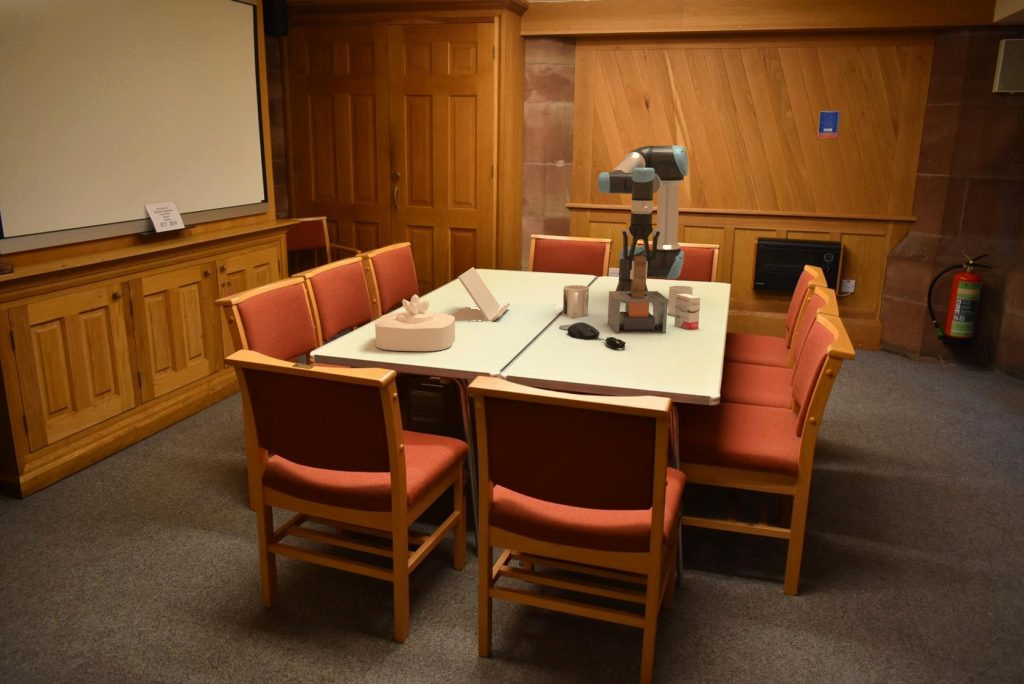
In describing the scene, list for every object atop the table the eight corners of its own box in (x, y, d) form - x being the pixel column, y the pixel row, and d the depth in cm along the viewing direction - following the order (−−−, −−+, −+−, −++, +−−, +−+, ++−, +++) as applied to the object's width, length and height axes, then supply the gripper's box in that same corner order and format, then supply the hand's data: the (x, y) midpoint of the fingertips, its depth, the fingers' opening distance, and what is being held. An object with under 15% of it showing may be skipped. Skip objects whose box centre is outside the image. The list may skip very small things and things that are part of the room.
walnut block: (630, 297, 281) (632, 256, 278) (641, 297, 281) (643, 256, 278) (633, 299, 277) (635, 257, 274) (644, 299, 277) (646, 257, 274)
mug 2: (688, 318, 300) (690, 290, 297) (665, 316, 303) (667, 288, 301) (694, 313, 310) (696, 285, 308) (672, 311, 314) (674, 283, 311)
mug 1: (594, 315, 304) (595, 287, 301) (575, 319, 296) (576, 290, 293) (573, 311, 311) (574, 284, 308) (554, 315, 302) (554, 287, 300)
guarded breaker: (607, 323, 289) (609, 291, 286) (655, 323, 290) (657, 291, 287) (615, 333, 274) (616, 299, 271) (665, 333, 275) (667, 299, 272)
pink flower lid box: (448, 351, 247) (447, 302, 243) (370, 350, 248) (368, 300, 244) (458, 334, 271) (457, 288, 267) (387, 332, 272) (385, 287, 268)
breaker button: (625, 314, 284) (625, 297, 283) (644, 314, 284) (644, 297, 283) (628, 317, 277) (629, 301, 276) (648, 317, 278) (649, 301, 276)
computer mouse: (578, 332, 277) (578, 319, 275) (633, 347, 255) (634, 333, 254) (560, 334, 272) (561, 321, 271) (615, 351, 250) (616, 336, 249)
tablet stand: (452, 320, 293) (452, 275, 289) (466, 308, 317) (466, 266, 313) (500, 322, 290) (500, 277, 286) (510, 309, 314) (511, 268, 310)
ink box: (699, 328, 282) (701, 296, 279) (688, 329, 280) (690, 297, 277) (684, 324, 290) (686, 293, 287) (673, 325, 288) (675, 293, 285)
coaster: (558, 325, 284) (558, 324, 284) (579, 325, 285) (579, 324, 285) (560, 330, 277) (560, 329, 277) (582, 330, 277) (582, 329, 277)
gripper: (619, 213, 268) (616, 280, 274) (668, 213, 269) (664, 280, 274) (615, 211, 275) (612, 277, 281) (663, 212, 276) (659, 277, 282)
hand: (638, 278), depth 278 cm, fingers closed on walnut block, 4 cm apart
